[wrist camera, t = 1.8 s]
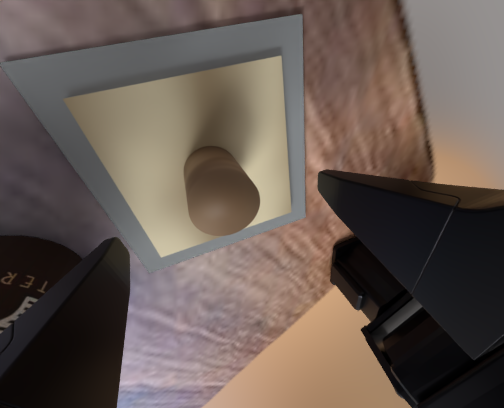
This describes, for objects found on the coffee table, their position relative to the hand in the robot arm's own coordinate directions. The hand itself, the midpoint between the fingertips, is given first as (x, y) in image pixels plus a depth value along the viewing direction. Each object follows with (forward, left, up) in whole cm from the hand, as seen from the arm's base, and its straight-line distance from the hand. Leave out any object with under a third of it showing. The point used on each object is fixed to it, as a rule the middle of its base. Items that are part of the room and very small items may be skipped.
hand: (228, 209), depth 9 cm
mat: (0, 0, -5) cm, 5 cm away
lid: (0, 0, -5) cm, 5 cm away
